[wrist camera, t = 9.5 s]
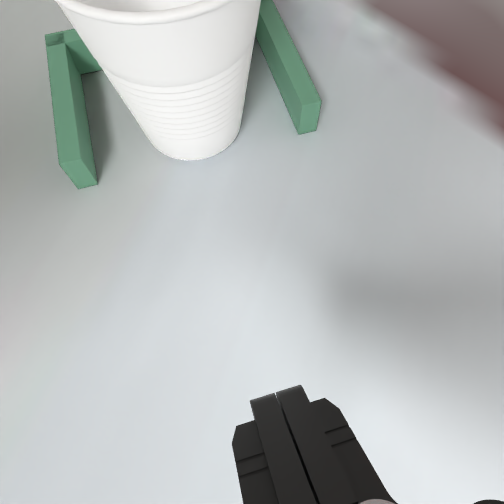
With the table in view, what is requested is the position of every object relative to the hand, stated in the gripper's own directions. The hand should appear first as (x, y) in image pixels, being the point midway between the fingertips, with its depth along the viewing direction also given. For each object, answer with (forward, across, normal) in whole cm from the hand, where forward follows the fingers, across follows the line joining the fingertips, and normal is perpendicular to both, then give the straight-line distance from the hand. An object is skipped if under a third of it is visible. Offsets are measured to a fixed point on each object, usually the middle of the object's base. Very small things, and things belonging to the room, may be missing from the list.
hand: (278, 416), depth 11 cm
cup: (+19, -1, -7) cm, 20 cm away
